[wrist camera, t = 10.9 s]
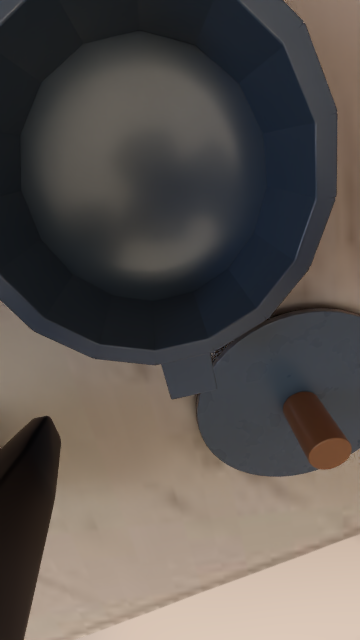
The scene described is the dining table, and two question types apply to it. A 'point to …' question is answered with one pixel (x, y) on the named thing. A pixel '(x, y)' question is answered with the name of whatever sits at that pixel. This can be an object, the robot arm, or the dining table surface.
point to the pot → (159, 173)
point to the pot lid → (286, 395)
